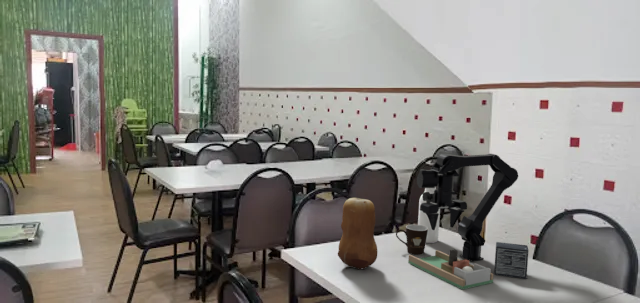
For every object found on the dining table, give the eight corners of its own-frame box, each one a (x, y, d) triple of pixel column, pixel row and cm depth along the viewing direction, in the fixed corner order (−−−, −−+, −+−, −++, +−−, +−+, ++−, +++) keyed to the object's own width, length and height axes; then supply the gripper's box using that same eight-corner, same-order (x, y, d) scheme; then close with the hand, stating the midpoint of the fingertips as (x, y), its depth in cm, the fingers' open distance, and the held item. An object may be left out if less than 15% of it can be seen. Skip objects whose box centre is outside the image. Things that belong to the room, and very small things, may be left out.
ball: (477, 268, 162) (475, 279, 162) (468, 263, 165) (466, 274, 166) (468, 270, 160) (466, 281, 160) (459, 265, 163) (458, 276, 164)
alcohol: (417, 242, 204) (421, 172, 201) (416, 236, 213) (420, 169, 210) (438, 244, 203) (443, 173, 199) (437, 238, 212) (441, 170, 208)
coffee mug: (429, 251, 193) (431, 227, 192) (422, 257, 186) (423, 231, 185) (402, 246, 199) (403, 222, 198) (394, 251, 192) (395, 226, 191)
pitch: (437, 257, 186) (437, 245, 185) (492, 282, 162) (493, 268, 162) (408, 262, 179) (408, 249, 178) (462, 289, 156) (463, 274, 155)
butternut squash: (369, 259, 181) (371, 194, 178) (382, 272, 168) (385, 202, 165) (333, 261, 178) (335, 195, 175) (343, 275, 165) (346, 203, 162)
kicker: (452, 266, 173) (453, 247, 172) (468, 273, 166) (469, 253, 166) (439, 268, 170) (441, 249, 169) (455, 276, 163) (456, 256, 163)
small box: (525, 273, 172) (527, 244, 171) (526, 279, 166) (529, 250, 165) (494, 269, 175) (496, 240, 174) (494, 275, 169) (496, 246, 168)
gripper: (448, 182, 192) (445, 221, 194) (411, 185, 183) (409, 225, 185) (469, 187, 183) (466, 228, 184) (431, 191, 174) (429, 233, 175)
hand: (442, 228), depth 183 cm, fingers open, 9 cm apart
